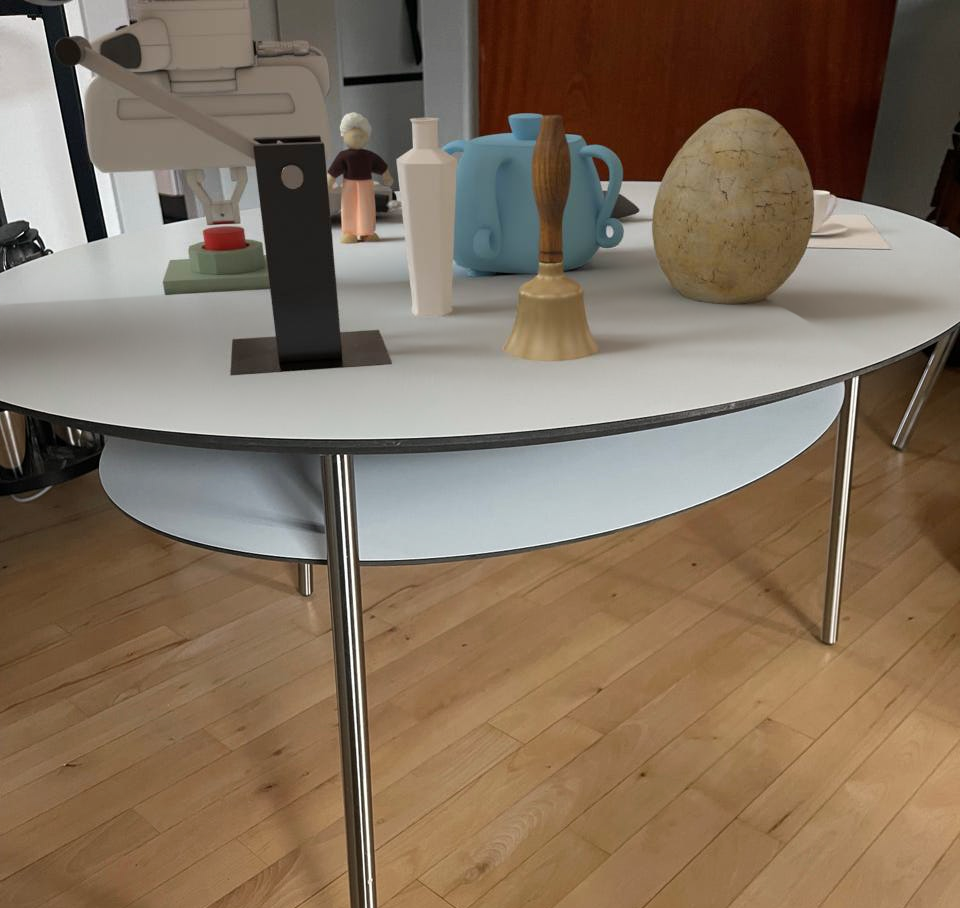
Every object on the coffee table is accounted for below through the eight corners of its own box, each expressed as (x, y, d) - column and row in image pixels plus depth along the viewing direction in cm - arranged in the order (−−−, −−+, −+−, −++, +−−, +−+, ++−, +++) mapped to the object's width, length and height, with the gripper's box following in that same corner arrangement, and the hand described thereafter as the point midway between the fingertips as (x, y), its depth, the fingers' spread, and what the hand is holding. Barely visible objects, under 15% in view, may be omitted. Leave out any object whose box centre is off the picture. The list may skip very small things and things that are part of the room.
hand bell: (483, 378, 71) (480, 122, 63) (502, 344, 78) (502, 109, 69) (603, 383, 70) (616, 122, 61) (611, 348, 77) (624, 109, 68)
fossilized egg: (666, 284, 94) (680, 100, 86) (809, 295, 89) (838, 102, 81) (629, 319, 84) (641, 114, 76) (788, 333, 79) (819, 117, 72)
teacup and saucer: (767, 238, 111) (772, 197, 109) (763, 224, 118) (768, 186, 115) (851, 239, 110) (858, 198, 107) (842, 226, 116) (848, 187, 114)
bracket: (232, 392, 69) (197, 151, 61) (234, 354, 77) (203, 135, 69) (394, 381, 71) (380, 145, 63) (380, 345, 78) (366, 130, 70)
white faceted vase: (417, 316, 85) (407, 115, 77) (465, 321, 84) (461, 116, 76) (393, 331, 82) (380, 121, 74) (443, 335, 80) (436, 122, 72)
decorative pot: (632, 284, 94) (644, 119, 87) (462, 295, 91) (459, 125, 84) (578, 249, 108) (584, 104, 101) (428, 258, 105) (423, 109, 98)
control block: (166, 307, 89) (158, 259, 87) (173, 284, 97) (166, 239, 95) (294, 299, 91) (289, 252, 89) (291, 277, 98) (286, 233, 96)
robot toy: (388, 214, 132) (269, 211, 128) (388, 176, 129) (268, 172, 126) (404, 231, 122) (276, 229, 118) (405, 190, 119) (275, 186, 116)
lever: (48, 65, 59) (61, 23, 58) (61, 62, 64) (74, 22, 63) (304, 205, 66) (320, 169, 65) (301, 193, 70) (316, 159, 69)
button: (204, 255, 90) (201, 234, 89) (206, 247, 93) (203, 227, 92) (246, 253, 91) (243, 232, 90) (246, 245, 94) (244, 225, 93)
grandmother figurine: (340, 247, 110) (329, 115, 104) (324, 241, 113) (313, 113, 106) (402, 238, 114) (396, 111, 107) (385, 233, 117) (378, 108, 110)
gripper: (324, 38, 87) (339, 211, 95) (75, 45, 84) (110, 223, 92) (329, 40, 82) (344, 223, 89) (63, 47, 79) (102, 236, 86)
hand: (224, 223), depth 91 cm, fingers closed
